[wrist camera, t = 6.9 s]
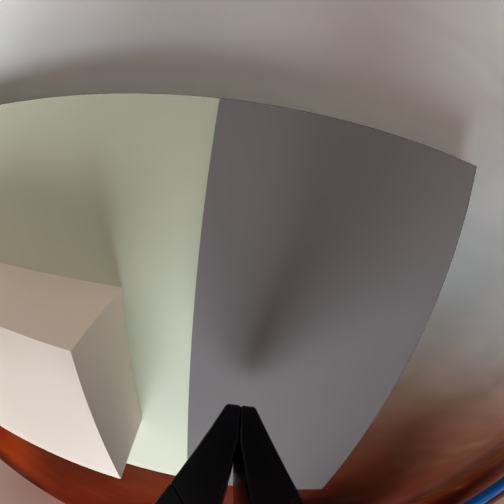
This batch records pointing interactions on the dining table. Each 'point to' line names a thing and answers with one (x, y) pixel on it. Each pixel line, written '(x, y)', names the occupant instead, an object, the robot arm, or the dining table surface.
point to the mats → (315, 275)
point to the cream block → (67, 368)
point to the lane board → (118, 227)
